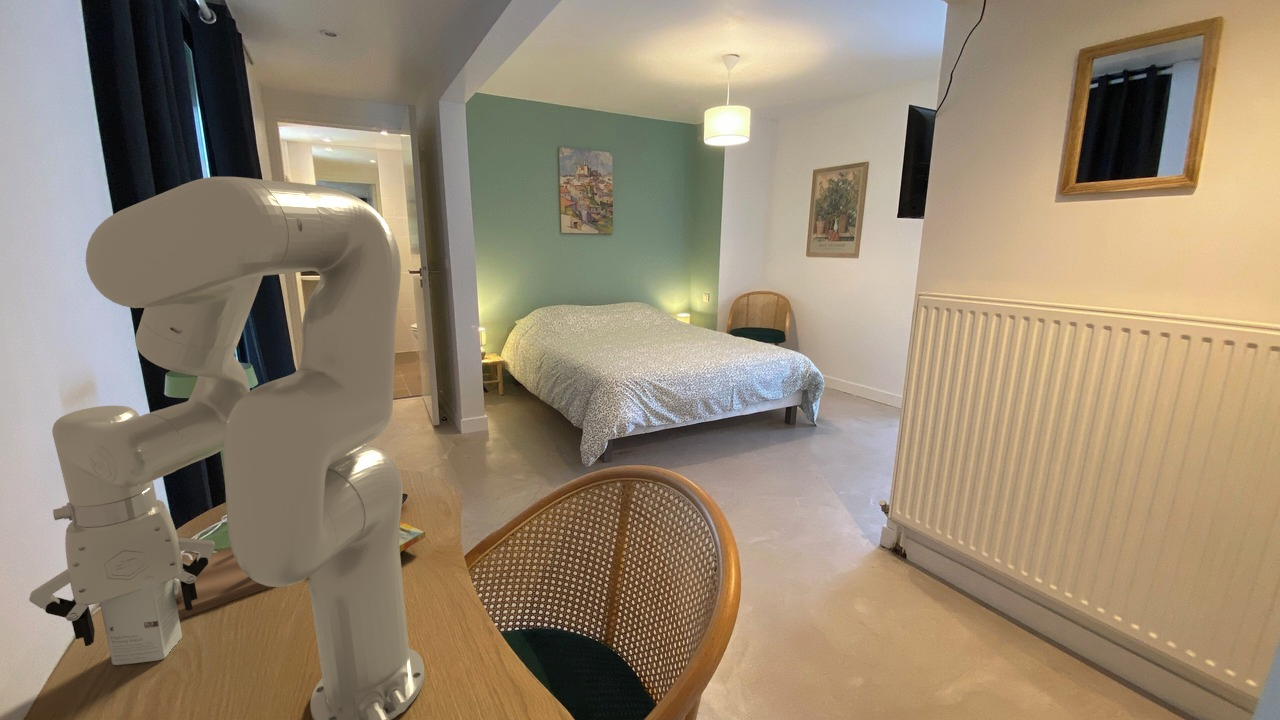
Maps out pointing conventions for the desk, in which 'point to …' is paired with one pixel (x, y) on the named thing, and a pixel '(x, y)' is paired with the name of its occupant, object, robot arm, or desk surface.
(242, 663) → the desk surface
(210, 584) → the post stand
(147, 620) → the skincare box
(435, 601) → the desk surface
